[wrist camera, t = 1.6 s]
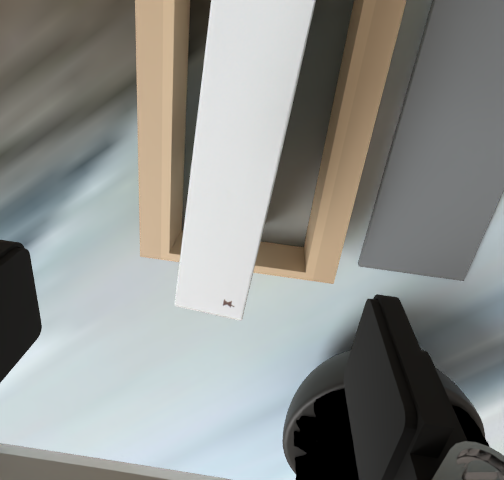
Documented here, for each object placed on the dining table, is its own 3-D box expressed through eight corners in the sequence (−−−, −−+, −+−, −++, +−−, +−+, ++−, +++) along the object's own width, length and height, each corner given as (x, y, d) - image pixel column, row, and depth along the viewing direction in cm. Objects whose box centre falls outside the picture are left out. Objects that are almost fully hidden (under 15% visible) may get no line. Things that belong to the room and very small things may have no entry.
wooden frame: (156, -80, 30) (133, -100, 25) (402, -48, 29) (422, -63, 25) (155, 233, 42) (140, 256, 38) (328, 257, 42) (333, 283, 37)
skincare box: (249, -26, 31) (218, -78, 17) (317, -11, 31) (342, -50, 17) (211, 215, 41) (171, 310, 27) (262, 225, 41) (250, 326, 27)
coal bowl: (253, 386, 51) (237, 553, 35) (349, 280, 43) (390, 435, 26) (374, 447, 55) (412, 625, 38) (485, 360, 46) (596, 541, 30)
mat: (445, -46, 29) (448, -47, 29) (594, -27, 29) (600, -28, 28) (358, 263, 42) (358, 266, 41) (461, 277, 42) (463, 281, 41)
